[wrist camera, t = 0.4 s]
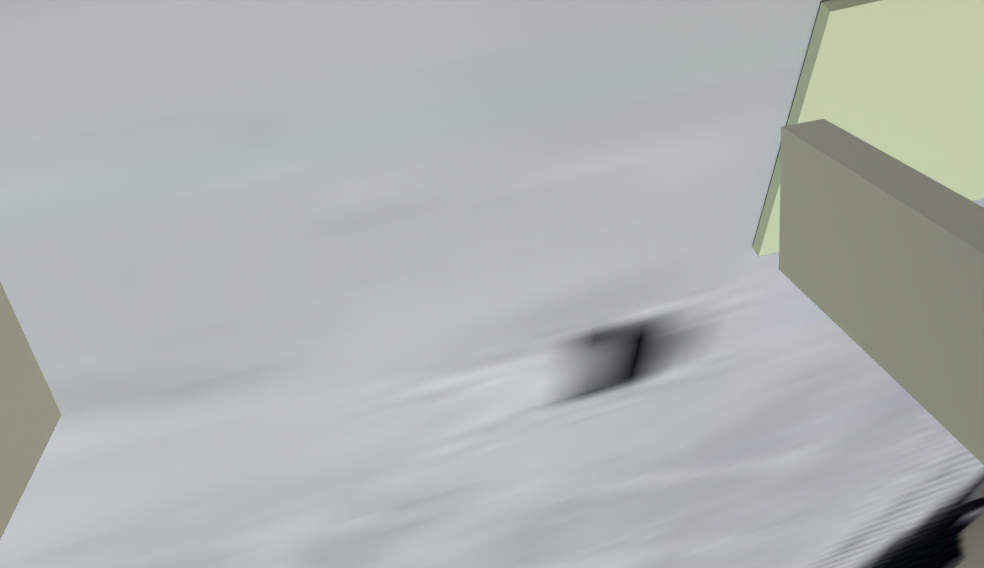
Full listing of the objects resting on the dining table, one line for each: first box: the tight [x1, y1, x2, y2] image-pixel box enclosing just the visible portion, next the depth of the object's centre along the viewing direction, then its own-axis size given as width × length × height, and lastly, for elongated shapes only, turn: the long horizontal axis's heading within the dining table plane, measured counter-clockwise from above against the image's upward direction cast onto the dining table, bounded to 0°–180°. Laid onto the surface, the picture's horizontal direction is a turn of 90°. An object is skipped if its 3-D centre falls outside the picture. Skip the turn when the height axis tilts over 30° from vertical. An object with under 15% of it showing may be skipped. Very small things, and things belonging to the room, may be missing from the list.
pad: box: [753, 0, 984, 257], centre depth 36 cm, size 13×13×1 cm
